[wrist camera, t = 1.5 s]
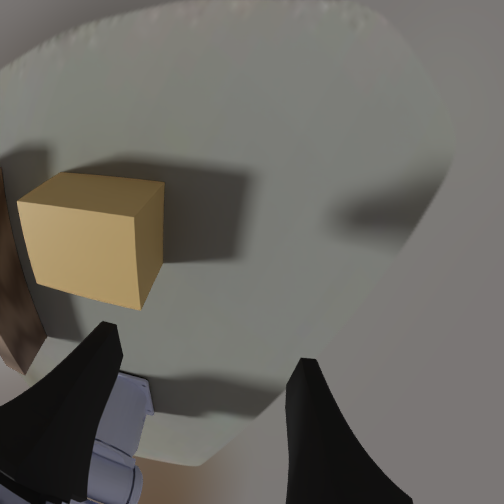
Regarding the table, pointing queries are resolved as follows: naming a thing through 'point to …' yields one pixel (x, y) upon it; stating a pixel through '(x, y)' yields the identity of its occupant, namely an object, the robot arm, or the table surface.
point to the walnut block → (15, 302)
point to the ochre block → (95, 236)
